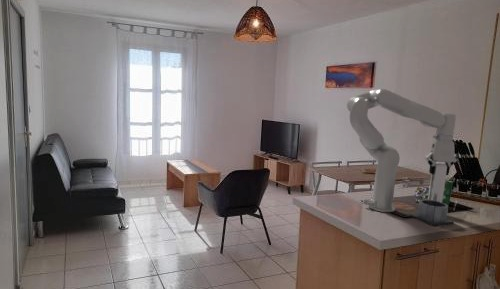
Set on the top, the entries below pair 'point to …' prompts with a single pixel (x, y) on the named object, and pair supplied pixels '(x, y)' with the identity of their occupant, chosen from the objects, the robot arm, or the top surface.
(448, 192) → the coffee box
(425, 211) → the collar
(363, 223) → the top surface
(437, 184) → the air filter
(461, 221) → the top surface
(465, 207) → the top surface
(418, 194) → the passion flower
